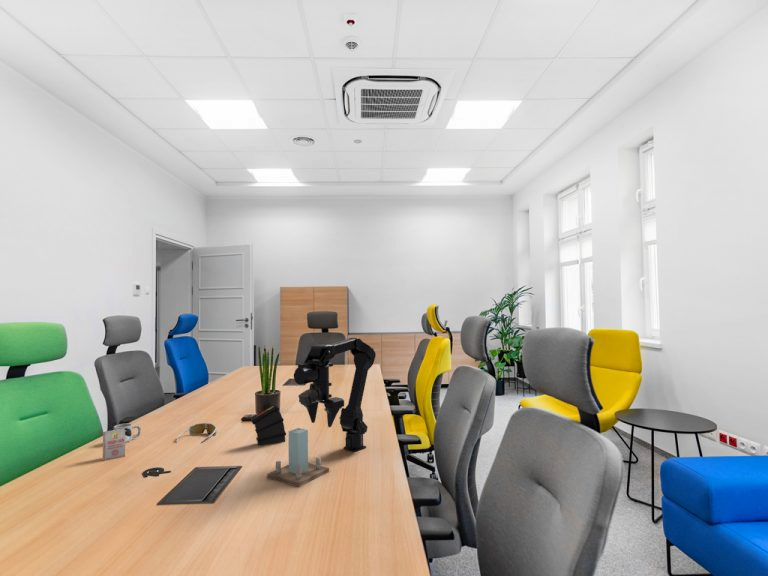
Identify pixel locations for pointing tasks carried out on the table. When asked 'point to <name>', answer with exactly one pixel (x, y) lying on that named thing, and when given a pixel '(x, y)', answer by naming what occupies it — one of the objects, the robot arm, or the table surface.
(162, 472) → the black flat pronged piece
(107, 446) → the small printed box
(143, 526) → the table surface
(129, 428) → the mug
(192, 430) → the sunglasses
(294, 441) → the block
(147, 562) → the table surface
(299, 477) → the pin stand
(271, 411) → the black ridged slab
